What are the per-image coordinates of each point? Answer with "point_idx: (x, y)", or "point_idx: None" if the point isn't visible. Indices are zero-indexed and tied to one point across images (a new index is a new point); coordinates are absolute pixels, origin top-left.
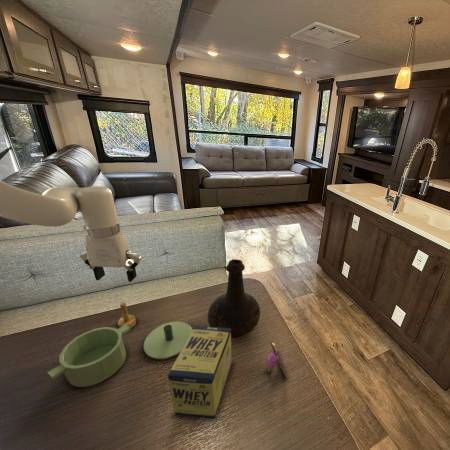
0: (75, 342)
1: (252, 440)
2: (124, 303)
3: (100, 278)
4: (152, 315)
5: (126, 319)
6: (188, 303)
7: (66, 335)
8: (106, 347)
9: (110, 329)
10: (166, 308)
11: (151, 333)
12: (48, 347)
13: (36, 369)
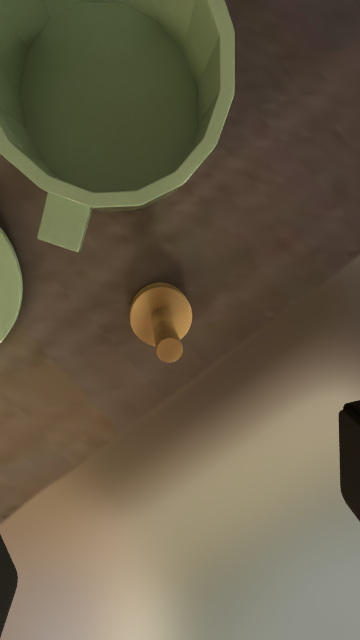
0: (217, 86)
1: None
2: (165, 357)
3: (341, 434)
4: (102, 373)
5: (154, 314)
6: (10, 464)
7: (334, 211)
8: (142, 185)
9: (107, 192)
10: (76, 418)
11: (12, 284)
12: (351, 147)
13: (313, 45)
